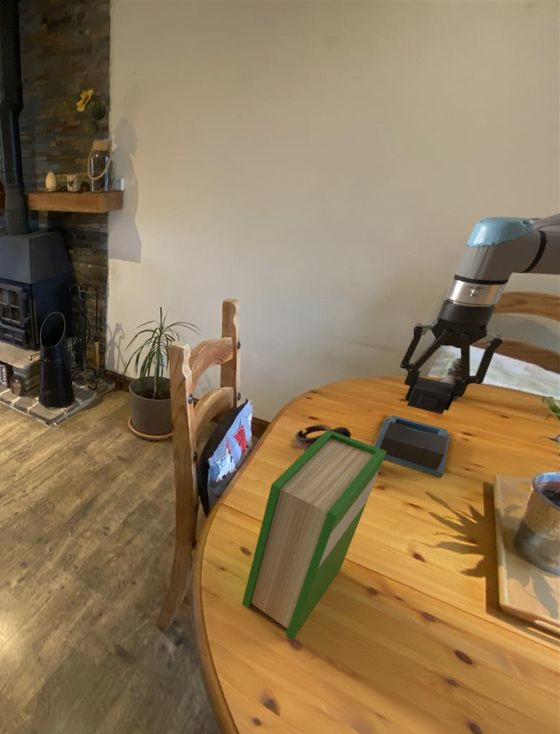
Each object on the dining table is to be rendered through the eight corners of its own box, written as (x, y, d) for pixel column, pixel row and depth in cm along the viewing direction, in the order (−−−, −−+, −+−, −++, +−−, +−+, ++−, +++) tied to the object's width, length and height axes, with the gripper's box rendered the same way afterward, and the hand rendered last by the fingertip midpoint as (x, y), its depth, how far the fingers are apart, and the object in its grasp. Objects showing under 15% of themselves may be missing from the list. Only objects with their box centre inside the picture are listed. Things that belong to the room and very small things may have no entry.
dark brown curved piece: (330, 477, 88) (315, 443, 87) (294, 469, 97) (281, 438, 96) (370, 450, 90) (356, 417, 90) (332, 444, 100) (319, 414, 99)
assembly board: (448, 438, 97) (456, 419, 94) (441, 478, 85) (450, 457, 83) (384, 421, 104) (391, 403, 102) (370, 455, 93) (377, 436, 90)
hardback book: (292, 640, 59) (336, 515, 48) (242, 604, 64) (271, 484, 53) (340, 568, 68) (386, 451, 57) (293, 542, 73) (327, 429, 62)
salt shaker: (426, 393, 115) (442, 353, 109) (441, 389, 116) (458, 349, 110) (449, 403, 110) (468, 361, 104) (465, 398, 111) (484, 357, 105)
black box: (445, 401, 93) (453, 384, 91) (441, 416, 88) (450, 398, 86) (411, 393, 97) (418, 376, 94) (406, 407, 92) (413, 389, 89)
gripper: (406, 298, 85) (371, 396, 96) (541, 315, 73) (484, 424, 84) (411, 290, 90) (377, 384, 101) (539, 305, 78) (485, 409, 89)
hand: (426, 402), depth 92 cm, fingers closed on black box, 6 cm apart
